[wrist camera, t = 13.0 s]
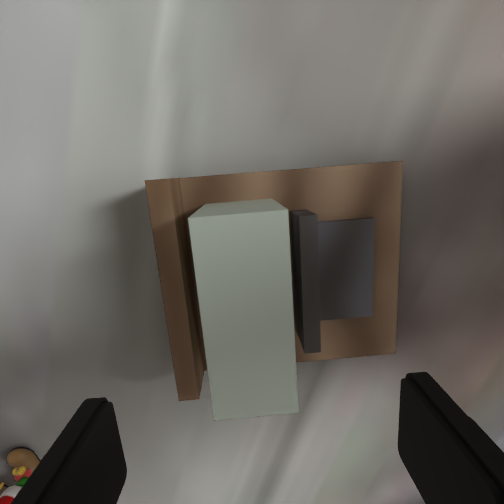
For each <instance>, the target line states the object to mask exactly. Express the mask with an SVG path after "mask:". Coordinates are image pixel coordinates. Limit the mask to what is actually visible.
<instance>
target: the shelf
mask: <svg viewBox="0 0 504 504" xmlns="http://www.w3.org/2000/svg"><path fill="white" fill-rule="evenodd" d="M402 176H403V161H395V162H382V163H369V164H356V165H343V166H331V167H318V168H305V169H292V170H279V171H266V172H253V173H241V174H228V175H215V176H202V177H189V178H172V179H158V180H145V185H146V191H147V198H148V204H149V211H150V217H151V224H152V230H153V237H154V243H155V249H156V256H157V262H158V269H159V275H160V282H161V288H162V295H163V301H164V308H165V314H166V321H167V327H168V334H169V340H170V346H171V353H172V359H173V366H174V372H175V379H176V385H177V392H178V398H179V401H184V400H195V399H199V397H200V392H201V386H202V381H203V375H204V370H207V362H206V354H205V347H204V339H203V331H202V323H201V316H200V308H199V300H198V292H197V285H196V277H195V269H194V262H193V254H192V246H191V238H190V231H189V223H188V218H189V217H190V216H191V215H192V214H194V213H195V212H196V211H197V210H198V209H200V208H201V207H202V206H203V205H205V204H211V203H223V202H235V201H247V200H259V199H271V198H272V199H274V200H275V201H276V202H278V203H279V204H281V205H282V206H284V207H285V208H287V209H288V216H289V235H290V255H291V274H292V294H293V314H294V333H295V353H296V362H305V361H316V360H327V359H338V358H350V357H361V356H372V355H383V354H394V353H395V352H396V327H397V302H398V277H399V252H400V227H401V202H402Z"/></svg>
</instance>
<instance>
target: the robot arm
mask: <svg viewBox="0 0 504 504" xmlns="http://www.w3.org/2000/svg"><path fill="white" fill-rule="evenodd" d="M398 451H399V455H400V457H401V459H402V461H403V463H404V465H405V467H406V469H407V471H408V472H409V474H410V476H411V478H412V480H413V481H414V483H415V485H416V487H417V489H418V491H419V492H420V494H421V496H422V498H423V500H424V502H425V503H426V504H504V453H503V451H502V450H501V449H500V448H499V447H498V446H497V445H496V444H495V443H494V442H493V441H492V440H491V438H490V437H489V436H488V435H487V434H486V433H485V432H484V431H483V430H482V429H481V428H480V427H479V426H478V424H477V423H476V422H475V421H474V420H473V419H471V418H470V417H469V416H467V415H466V414H465V413H464V412H463V410H462V409H461V408H460V407H459V406H458V405H457V404H456V403H455V402H454V401H453V400H452V398H451V397H450V396H449V395H448V394H447V393H446V392H445V391H444V390H443V389H442V388H441V387H440V385H439V384H438V383H437V382H436V381H435V380H434V379H433V378H432V377H431V376H430V375H429V374H428V373H427V372H417V373H408V374H407V375H406V378H403V379H402V380H401V390H400V411H399V431H398ZM126 474H127V467H126V462H125V458H124V453H123V449H122V444H121V439H120V435H119V430H118V426H117V421H116V417H115V412H114V407H113V404H112V402H108V400H107V399H106V398H104V397H103V398H90V399H86V400H85V401H84V402H83V403H82V404H81V406H80V407H79V408H78V410H77V411H76V413H75V414H74V415H73V417H72V418H71V420H70V421H69V423H68V424H67V425H66V427H65V428H64V430H63V431H62V432H61V434H60V435H59V437H58V438H57V439H56V441H55V442H54V444H53V445H52V446H51V448H50V449H49V451H48V452H47V453H46V455H45V456H44V457H43V459H42V460H41V461H40V463H39V464H38V466H37V467H36V468H35V470H34V471H33V473H32V474H31V475H30V477H29V478H28V480H27V481H26V482H25V484H24V485H23V487H22V488H21V489H20V491H19V492H18V494H17V495H16V497H15V498H14V499H13V501H12V502H11V504H116V503H117V501H118V498H119V496H120V493H121V491H122V488H123V485H124V483H125V480H126Z"/></svg>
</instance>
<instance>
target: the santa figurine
mask: <svg viewBox="0 0 504 504" xmlns="http://www.w3.org/2000/svg"><path fill="white" fill-rule="evenodd" d="M7 462H8V464H9V465H10V466H12V467H14V469H13V471H12V474H13V475H14V477H15V481H19V482H18V483H17V484H16V485H14V486H10V487H8V486H6V485H4V482H1V483H0V504H11V502H12V501H13V499H14V498H15V497H16V495H17V494H18V492H19V491H20V489H21V488H22V487H23V485H24V484H25V482H26V481H27V480H28V478H29V477H30V475H31V474H32V473H33V471H34V470H35V468H36V467H37V466H38V464H39V463H40V460H39V458H38V457H37V455H36V454H35V453H34V451H32V450H31V449H28V448H15V449H13V450H11V451H10V453H9V454H8V456H7Z"/></svg>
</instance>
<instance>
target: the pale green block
mask: <svg viewBox="0 0 504 504" xmlns="http://www.w3.org/2000/svg"><path fill="white" fill-rule="evenodd" d="M188 223H189V231H190V238H191V246H192V254H193V262H194V269H195V277H196V285H197V292H198V300H199V308H200V316H201V323H202V331H203V339H204V347H205V354H206V362H207V370H208V377H209V385H210V393H211V401H212V408H213V416H214V421H217V420H228V419H238V418H249V417H259V416H270V415H280V414H290V413H299V411H298V392H297V372H296V353H295V333H294V314H293V294H292V274H291V255H290V235H289V216H288V209H287V208H285V207H284V206H282V205H281V204H279V203H278V202H276V201H275V200H274V199H272V198H271V199H259V200H247V201H235V202H223V203H211V204H205V205H203V206H202V207H201V208H200V209H198V210H197V211H196V212H195V213H194V214H192V215H191V216H190V217H189V218H188Z"/></svg>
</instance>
